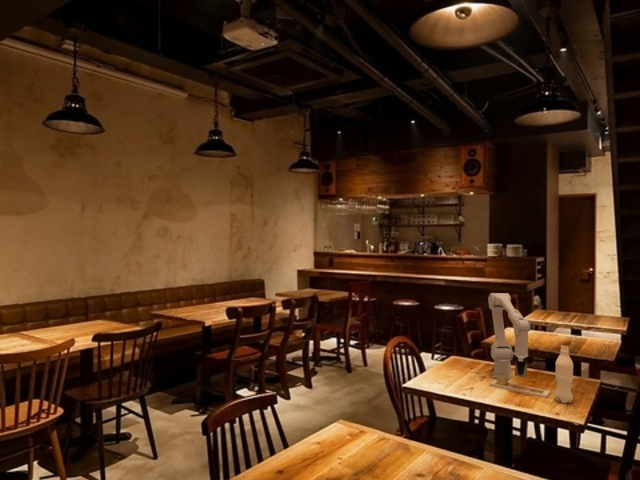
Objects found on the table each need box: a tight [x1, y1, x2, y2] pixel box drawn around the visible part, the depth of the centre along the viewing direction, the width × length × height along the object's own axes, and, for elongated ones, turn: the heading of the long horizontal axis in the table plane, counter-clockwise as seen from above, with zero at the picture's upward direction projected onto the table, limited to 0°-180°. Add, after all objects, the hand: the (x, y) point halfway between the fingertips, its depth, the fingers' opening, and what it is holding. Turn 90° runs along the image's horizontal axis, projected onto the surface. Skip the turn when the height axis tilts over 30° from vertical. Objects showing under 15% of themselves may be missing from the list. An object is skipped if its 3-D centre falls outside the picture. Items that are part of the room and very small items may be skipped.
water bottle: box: [554, 345, 574, 404], centre depth 206 cm, size 7×7×25 cm
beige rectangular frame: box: [488, 379, 552, 399], centre depth 222 cm, size 8×26×1 cm, turn 50°
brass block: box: [496, 373, 509, 386], centre depth 227 cm, size 4×4×6 cm
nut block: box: [514, 362, 528, 378], centre depth 221 cm, size 4×4×6 cm
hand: (520, 372), depth 221 cm, fingers closed on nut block, 5 cm apart
